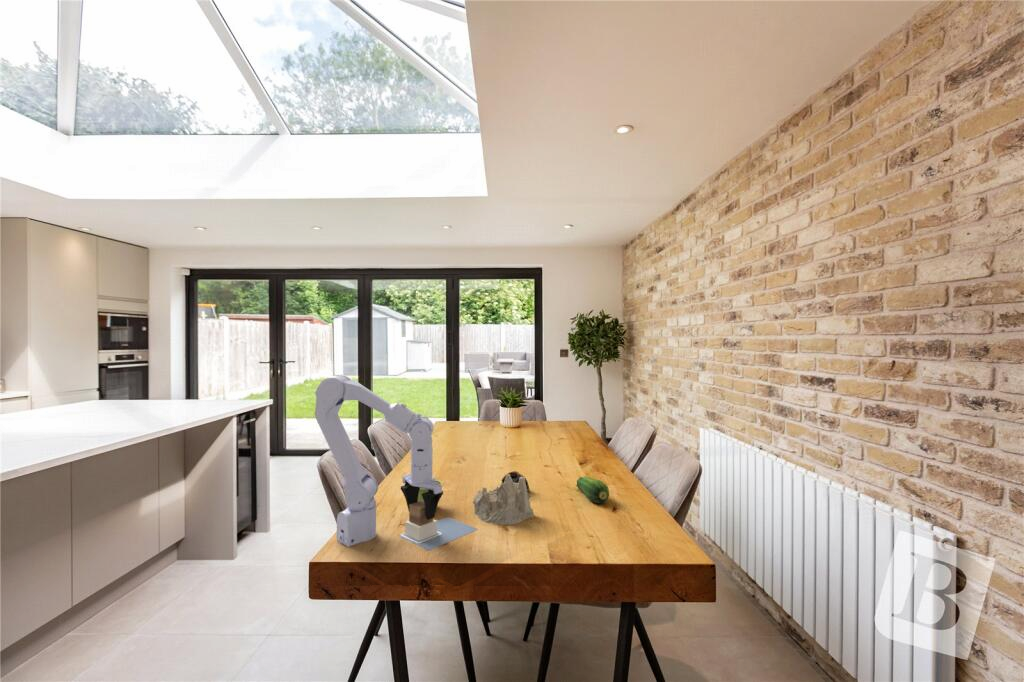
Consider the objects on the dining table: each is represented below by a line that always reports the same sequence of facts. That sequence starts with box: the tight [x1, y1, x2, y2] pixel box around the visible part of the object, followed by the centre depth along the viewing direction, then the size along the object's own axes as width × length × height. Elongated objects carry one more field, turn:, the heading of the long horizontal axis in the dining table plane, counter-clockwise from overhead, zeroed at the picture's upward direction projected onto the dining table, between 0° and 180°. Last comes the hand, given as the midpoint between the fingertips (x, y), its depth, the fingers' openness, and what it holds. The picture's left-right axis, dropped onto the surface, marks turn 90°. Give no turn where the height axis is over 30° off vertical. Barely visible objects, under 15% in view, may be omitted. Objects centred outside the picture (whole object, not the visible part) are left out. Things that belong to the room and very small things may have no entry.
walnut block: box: [408, 500, 434, 526], centre depth 117 cm, size 4×4×4 cm
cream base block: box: [404, 518, 438, 541], centre depth 117 cm, size 6×6×4 cm
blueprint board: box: [398, 516, 478, 551], centre depth 118 cm, size 17×13×1 cm
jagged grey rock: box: [472, 473, 535, 526], centre depth 132 cm, size 16×16×15 cm
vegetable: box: [576, 476, 610, 504], centre depth 151 cm, size 7×7×20 cm
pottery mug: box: [500, 470, 531, 493], centre depth 156 cm, size 12×10×8 cm
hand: (421, 514), depth 117 cm, fingers open, 7 cm apart
